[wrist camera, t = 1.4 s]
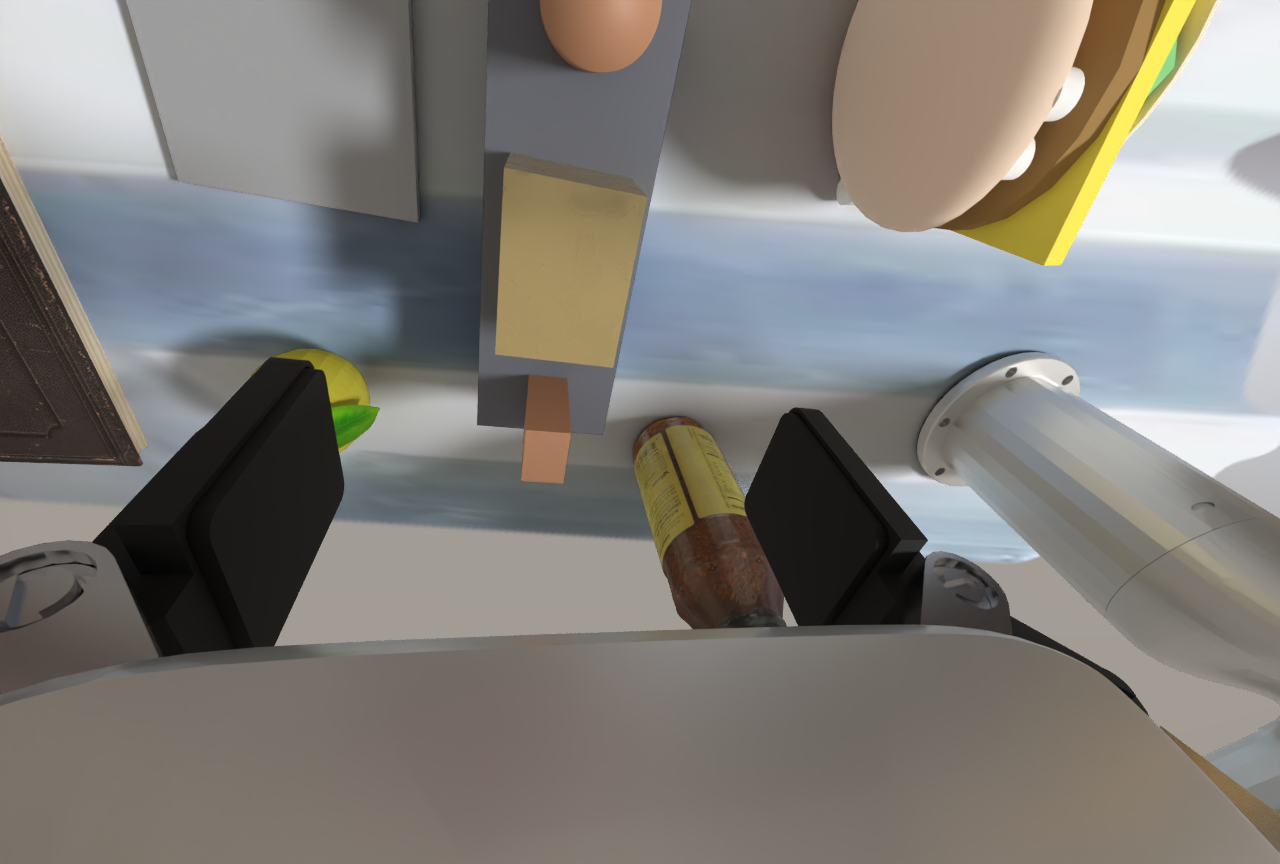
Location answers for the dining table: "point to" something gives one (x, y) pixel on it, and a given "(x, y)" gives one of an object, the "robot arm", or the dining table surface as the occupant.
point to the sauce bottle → (703, 530)
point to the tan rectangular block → (565, 260)
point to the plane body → (574, 135)
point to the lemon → (341, 393)
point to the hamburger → (999, 110)
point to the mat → (288, 98)
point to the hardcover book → (52, 353)
